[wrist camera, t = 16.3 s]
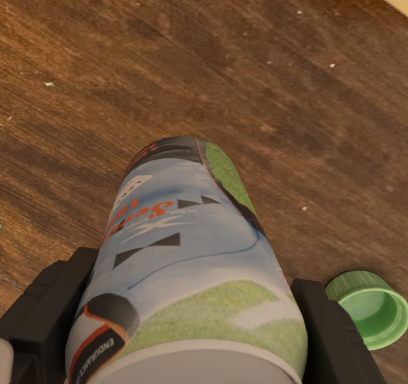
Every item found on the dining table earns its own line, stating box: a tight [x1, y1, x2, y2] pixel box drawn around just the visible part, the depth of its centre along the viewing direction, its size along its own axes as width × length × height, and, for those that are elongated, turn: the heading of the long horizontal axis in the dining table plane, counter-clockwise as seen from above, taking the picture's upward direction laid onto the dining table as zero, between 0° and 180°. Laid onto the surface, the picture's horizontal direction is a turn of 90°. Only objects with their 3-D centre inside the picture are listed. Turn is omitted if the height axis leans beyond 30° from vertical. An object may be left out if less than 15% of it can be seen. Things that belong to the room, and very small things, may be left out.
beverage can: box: [65, 136, 308, 384], centre depth 12 cm, size 6×7×12 cm
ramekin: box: [325, 270, 408, 350], centre depth 37 cm, size 9×9×4 cm
